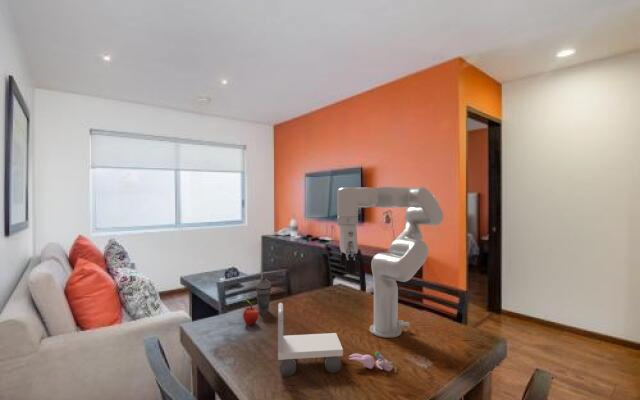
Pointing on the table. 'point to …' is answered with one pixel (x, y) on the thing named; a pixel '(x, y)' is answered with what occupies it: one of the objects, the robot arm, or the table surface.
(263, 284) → the beverage cup
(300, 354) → the trolley
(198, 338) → the table surface
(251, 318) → the apple
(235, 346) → the table surface
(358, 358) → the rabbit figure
